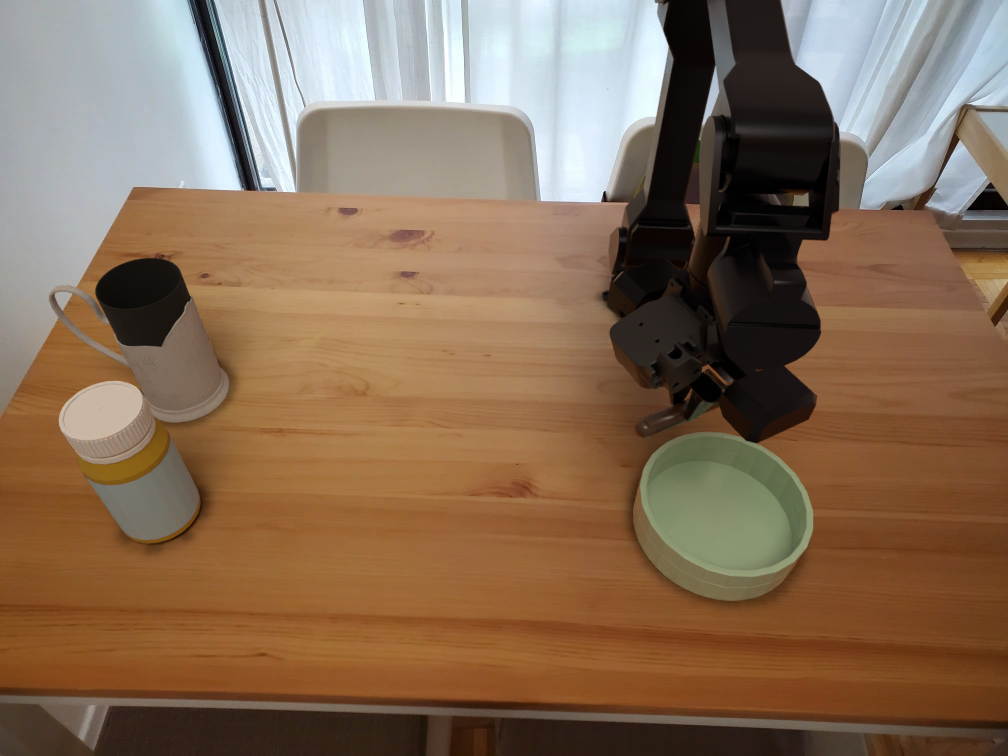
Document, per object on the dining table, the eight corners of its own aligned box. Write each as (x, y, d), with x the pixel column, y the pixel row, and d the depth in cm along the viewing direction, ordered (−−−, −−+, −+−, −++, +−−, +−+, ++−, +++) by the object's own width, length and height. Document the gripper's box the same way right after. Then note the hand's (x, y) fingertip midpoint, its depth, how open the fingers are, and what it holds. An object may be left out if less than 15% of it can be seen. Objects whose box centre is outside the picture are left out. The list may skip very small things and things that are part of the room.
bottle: (134, 484, 69) (69, 378, 58) (209, 480, 70) (158, 374, 59) (113, 549, 64) (38, 447, 53) (194, 544, 65) (136, 442, 54)
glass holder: (212, 426, 74) (165, 318, 63) (78, 414, 75) (9, 306, 64) (240, 365, 80) (202, 256, 69) (116, 355, 81) (59, 246, 70)
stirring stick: (716, 394, 66) (721, 380, 65) (728, 407, 65) (734, 393, 64) (628, 430, 63) (632, 417, 62) (640, 445, 62) (644, 432, 61)
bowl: (722, 438, 75) (734, 410, 71) (832, 555, 66) (850, 529, 63) (601, 496, 70) (607, 468, 66) (702, 631, 61) (715, 607, 57)
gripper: (566, 230, 55) (551, 372, 66) (725, 391, 44) (674, 528, 55) (682, 196, 59) (649, 335, 70) (856, 336, 48) (783, 475, 59)
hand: (683, 411), depth 64 cm, fingers closed on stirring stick, 2 cm apart
